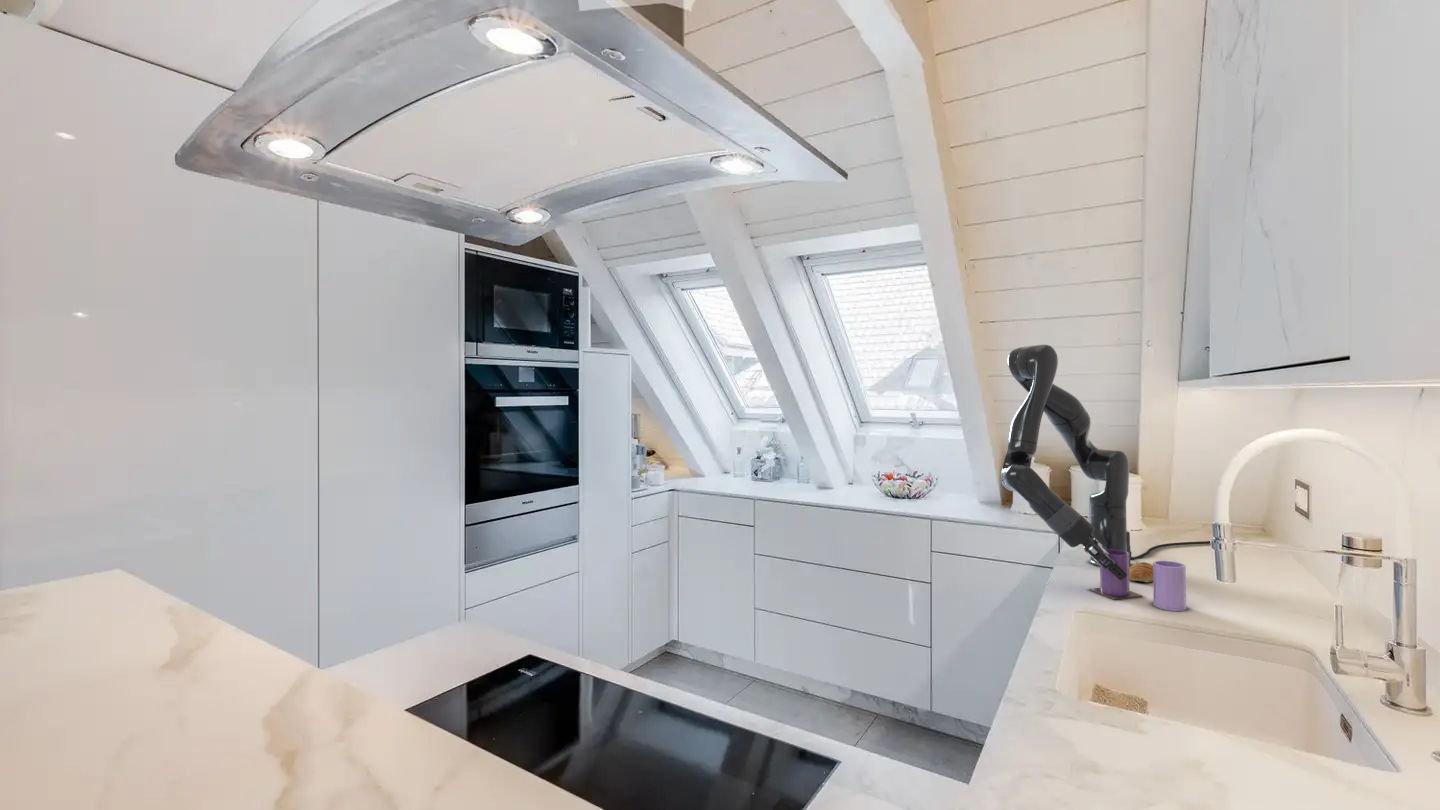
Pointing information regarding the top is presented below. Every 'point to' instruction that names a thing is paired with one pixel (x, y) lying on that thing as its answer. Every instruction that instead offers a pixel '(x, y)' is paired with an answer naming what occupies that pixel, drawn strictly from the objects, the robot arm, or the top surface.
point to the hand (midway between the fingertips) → (1121, 573)
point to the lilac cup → (1169, 585)
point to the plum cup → (1109, 580)
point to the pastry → (1141, 572)
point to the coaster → (1131, 595)
